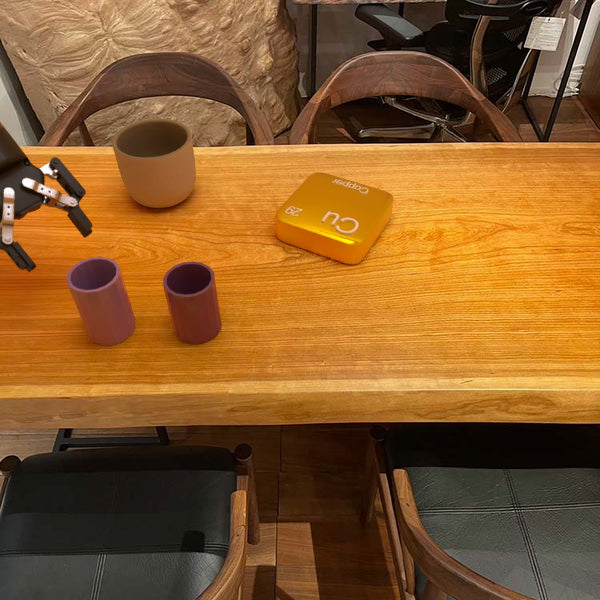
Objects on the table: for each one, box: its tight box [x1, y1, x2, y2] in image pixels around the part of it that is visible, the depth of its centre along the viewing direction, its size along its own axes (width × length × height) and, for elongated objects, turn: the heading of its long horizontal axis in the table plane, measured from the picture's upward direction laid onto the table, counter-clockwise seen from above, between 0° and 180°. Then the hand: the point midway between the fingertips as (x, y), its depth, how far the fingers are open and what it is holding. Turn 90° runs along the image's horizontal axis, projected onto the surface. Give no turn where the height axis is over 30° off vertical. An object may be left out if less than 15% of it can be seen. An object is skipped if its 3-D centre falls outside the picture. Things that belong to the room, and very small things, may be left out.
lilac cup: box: [65, 256, 137, 346], centre depth 76 cm, size 6×6×10 cm
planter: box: [111, 117, 197, 209], centre depth 97 cm, size 12×12×11 cm
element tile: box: [274, 171, 394, 265], centre depth 93 cm, size 15×15×5 cm
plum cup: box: [162, 261, 222, 345], centre depth 77 cm, size 6×6×9 cm
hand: (61, 251), depth 75 cm, fingers open, 8 cm apart
